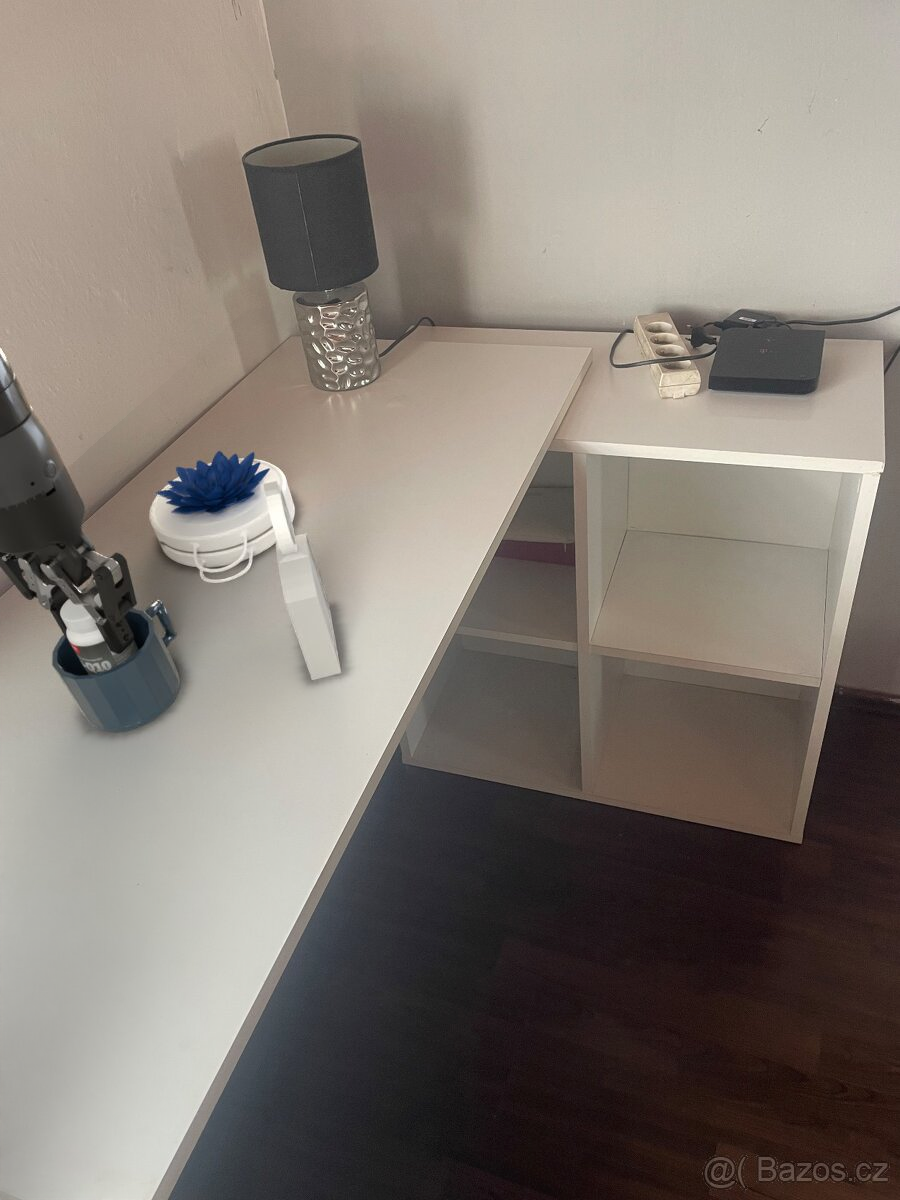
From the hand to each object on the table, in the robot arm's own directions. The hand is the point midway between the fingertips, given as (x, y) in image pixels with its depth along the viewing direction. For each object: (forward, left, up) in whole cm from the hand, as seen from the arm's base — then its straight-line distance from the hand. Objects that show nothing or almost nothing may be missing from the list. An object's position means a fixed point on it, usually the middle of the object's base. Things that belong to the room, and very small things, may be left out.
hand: (101, 639), depth 76 cm
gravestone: (+17, -6, -8) cm, 20 cm away
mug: (+1, +1, -7) cm, 8 cm away
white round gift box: (+17, +17, -8) cm, 25 cm away
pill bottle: (0, 0, -5) cm, 5 cm away
